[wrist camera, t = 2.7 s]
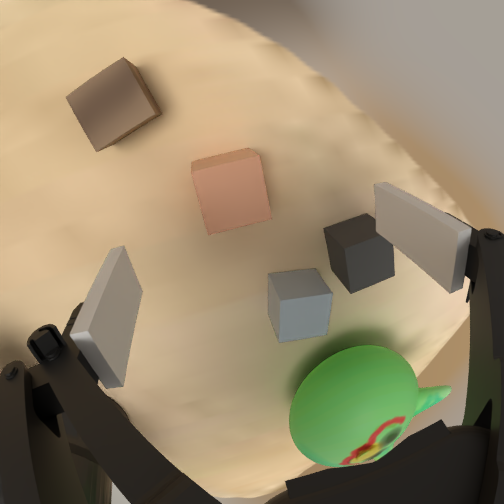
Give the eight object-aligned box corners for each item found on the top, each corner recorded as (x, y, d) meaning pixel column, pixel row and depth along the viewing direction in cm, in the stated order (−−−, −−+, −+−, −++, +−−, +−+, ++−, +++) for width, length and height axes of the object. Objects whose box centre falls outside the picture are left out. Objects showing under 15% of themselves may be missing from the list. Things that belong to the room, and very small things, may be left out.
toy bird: (316, 313, 35) (371, 411, 22) (411, 329, 40) (469, 399, 27) (260, 410, 42) (284, 497, 29) (351, 411, 47) (385, 479, 34)
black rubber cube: (371, 253, 33) (394, 275, 29) (331, 269, 33) (350, 293, 29) (366, 213, 31) (392, 230, 27) (323, 227, 31) (344, 248, 27)
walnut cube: (162, 113, 24) (155, 114, 19) (113, 144, 24) (96, 152, 20) (135, 66, 22) (123, 57, 17) (87, 98, 22) (65, 97, 17)
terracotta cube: (259, 200, 29) (272, 218, 24) (205, 214, 28) (208, 235, 24) (248, 147, 26) (259, 155, 22) (191, 161, 26) (191, 172, 22)
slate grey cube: (311, 307, 35) (327, 334, 31) (267, 313, 34) (278, 342, 30) (314, 268, 33) (332, 293, 28) (267, 273, 32) (280, 300, 28)
